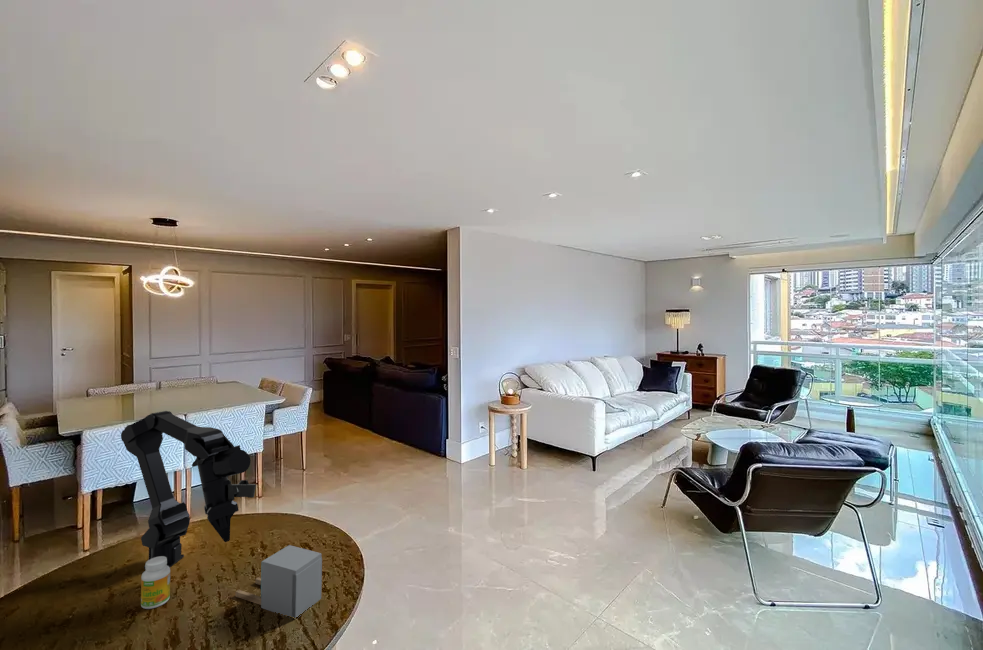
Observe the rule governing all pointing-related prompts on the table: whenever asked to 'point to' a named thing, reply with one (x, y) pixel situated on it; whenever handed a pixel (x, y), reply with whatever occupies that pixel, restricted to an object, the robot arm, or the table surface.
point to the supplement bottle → (155, 583)
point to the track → (250, 596)
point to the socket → (291, 581)
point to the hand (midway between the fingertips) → (227, 541)
